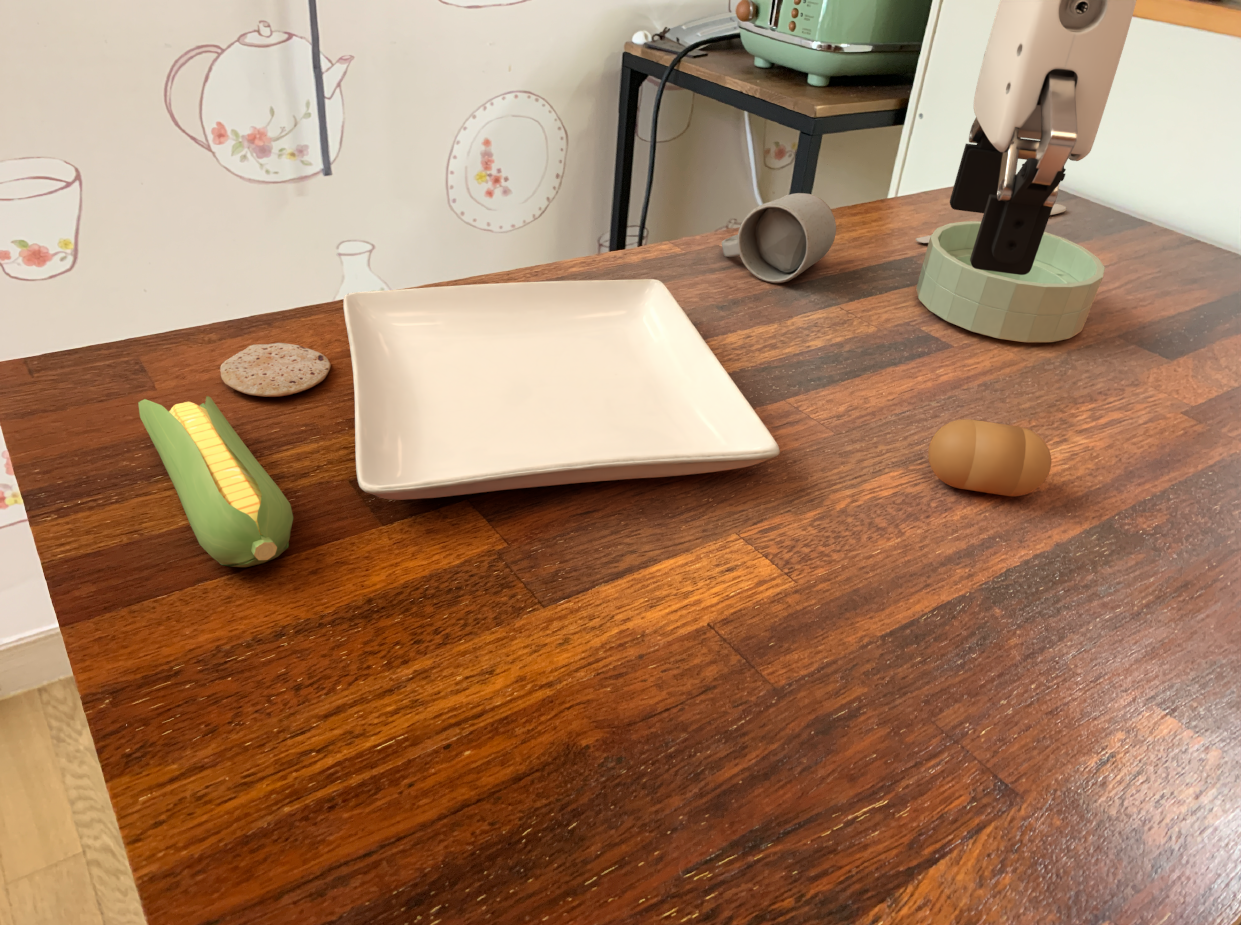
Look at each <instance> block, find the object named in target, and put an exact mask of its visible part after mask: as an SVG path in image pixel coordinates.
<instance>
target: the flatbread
mask: <svg viewBox="0 0 1241 925" xmlns="http://www.w3.org/2000/svg"><path fill="white" fill-rule="evenodd" d="M331 367H332V366H331V361H330V359H328V357H327V356H325V355H324V354H322V353H321V352H319V351H316V350H314V349H311V348H308V347H306V346H302V345H298V344H292V343H286V342H275V343H268V344H266V343H265V344H264V343H259V344H256V343H253V344H250V345H248V346H247V347H246V348H244V349H243V350H241V351H238V353H235V354H234V355H232V356H230V357H229V358H228V359H226V360H224V361H223V362H222V363H221V365H220V367H219V371H220V378H221V380H222V382H223V383H224V385H226V386H228V387H229V388H231V389H233V390H236V391H237V392H240V393H242V394H246V395H248V396H257V397H269V398H276V397H284V396H285V397H286V396H291V395H293V394H297V393H301V392H305V391H306V390H309V389H312V388H314V387H315V386H316V385H319V384H320V383H321V382H323V381H324V380H325V379H326V377H327V376H328V374H329V372H330V370H331Z"/></svg>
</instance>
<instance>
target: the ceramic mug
mask: <svg viewBox="0 0 1241 925" xmlns="http://www.w3.org/2000/svg"><path fill="white" fill-rule="evenodd" d="M737 232H738V233H737V234H735V235H732V236H730V237H727V238H725V239H724V240H722V241H721V248H722V252H723V255H724V257H726V258H733V257H740V260H741V261H742V263H743V265H744V266H745V268H746V269H747V270H748V271H749V273H751V274H752V275H753V276H754V277H756V278H757V279H760V280H761V281H763V282H767V283H772V284H782V283H786V282H789V281H791V280H793V279H795V278H796V277H798V276H799V275H800V274H802V273H803V272H805V271H806V270H808V269H809V268H810V267H811V266H813V265H814V264H816V263H817V262H819V261H820V260H822V259H823V258H824V257H825V256H826V255H827V254H828V253H829V251H830V249H831V248H832V246H833V244H834V242H835V239H836V234H837V223H836V218H835V216H834V213H833V210H832V209H831V207H830V206H829V205H828V204H827V202H826V201H824V200H823V199H822V198H821V197H818V196H816V195H814V194H810V193H804V192H797V193H791V194H787V195H784V196H782V197H780V198H777V199H774V200H771V201H769V202H765V203H762V204H760V205H759V206H756V207H755V208H753V209H752V210H751V211H749V212H748V213H747V214H746V216H745V217H744V219H743V220H742V222H741V223H740V225H739V228H738V231H737Z"/></svg>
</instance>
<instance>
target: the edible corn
mask: <svg viewBox="0 0 1241 925" xmlns="http://www.w3.org/2000/svg"><path fill="white" fill-rule="evenodd" d="M137 403H138V413H139V418H140V420H141V422H142V424H143V427H144V428H145V430H146V431H147V434H148V436H149V437H150V439H151V441H152V443H153V445H154V448H155V449H156V451H157V453H158V455H159V457H160V459H161V461H162V464H163V465H164V468H165V471H167V475H168V476H169V479H170V480H171V483H172V485H173V487H174V489H175V491H176V494H177V495H178V498H179V501H180V503H181V506H182V508H183V510H184V514H185V515H186V518H187V521H188V523H189V525H190V528H191V529H192V532H193V533H194V536H195V538H196V540H197V542H198V544H199V546H200V547H201V548H203V550H204V551H205V552H206V553H207V554H208V555H209V556H210V557H211V559H213V560H215V561H216V562H217V563H219V565H220V566H224V567H233V568H248V567H252V566H256V565H257V566H258V565H262V564H265V563H267V562H269V561H271V560H274V559H276V558H278V557H279V556H281V555H282V554H283V553H284V552H285V551H286V550H287V549H288V548H290V542H289V541H290V538H291V533H292V532H291V531H292V527H293V523H294V514H293V510H292V505H291V503H290V502H289V500H288V499H287V497H286V496H285V495H284V493H283V492H282V490H281V488H279V486H278V485H277V484H276V482H275V481H274V480H273V478H272V477H271V476H270V475H269V473H268V472H267V471H266V470H265V469H264V467H263V466H262V465H261V464H260V463H259V461H258V460H257V459H256V457H255V455H254V454H253V453H252V452H251V451H250V449H249V448H248V447H247V446H246V443H244V441H243V440H242V439H241V437H240V436H239V435H238V433H237V432H236V431H235V429H234V428H233V427H232V425H231V423H230V422H229V421H228V419H227V418H226V417H225V415H224V414H223V413H222V411H221V410H220V408H219V407H218V406H217V404H216V403H215V401H214V400H213V399H212V397H211V396H209V395H205V402H202V403H201V404H197V403H194V402H191V401H189V400H188V401H184V402H180V403H176V404H173V406H172V407H171V408H170V410H168V409H167V408H165V406H164V405H163V404H159V403H157V402H154V401H151V400H149V399H146V398H144V399H142V400H140V401H138V402H137Z"/></svg>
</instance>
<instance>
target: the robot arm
mask: <svg viewBox="0 0 1241 925" xmlns="http://www.w3.org/2000/svg"><path fill="white" fill-rule="evenodd" d="M1136 4H1137V0H999V3H998V6H997V10H996V13H995V16H994V20H993V23H992V26H991V29H990V34H989V37H988V40H987V44H986V47H985V51H984V54H983V58H982V62H981V66H980V70H979V75H978V77H977V82H976V87H975V92H974V97H973V112H974V115H975V118H974V119H973V122H972V124H971V127H970V129H969V130H970V131H969V133H968V134H969V135H968V143H965V145H964V149H963V153H962V156H961V160H960V163H959V167H958V169H957V174H956V177H955V181H954V184H953V187H952V191H951V195H950V198H949V205H950V207H951V209H952V210H954V211H961V212H962V211H963V212H971V213H977V214H983V215H982V218H981V220H980V221H981V225H980V228H979V231H978V234H977V238H976V241H975V244H974V248H973V251H972V254H971V257H970V262H971V265H972V267H973V268H975V269H980V270H988V271H995V272H1003V273H1010V274H1018V275H1025V274H1027V273H1029V272H1030V270H1031V268H1032V265H1033V263H1034V260H1035V257H1036V254H1037V251H1038V248H1039V245H1040V242H1041V239H1042V237H1043V234H1044V232H1046V231H1045V230H1046V228H1047V225H1048V222H1049V219H1050V216H1051V215H1050V214H1051V211H1052V208H1053V206H1054V204H1056V202H1057V199H1058V196H1059V189H1060V183H1061V182H1063V181H1064V180H1065V177H1066V173H1065V172H1066V170H1067V169H1066V168H1065V165H1066V163H1067V162H1068V160H1069V161H1073V162H1080V161H1081V160H1083V159H1084V158H1086V157H1087V156H1088V155H1089V154H1090V153H1091V151H1092V149H1093V147H1094V143H1095V140H1096V138H1097V134H1098V131H1099V129H1100V125H1101V122H1102V118H1103V115H1104V112H1105V110H1106V106H1107V103H1108V99H1109V97H1110V93H1111V91H1112V90H1111V89H1112V88H1113V83H1114V80H1115V77H1116V74H1117V70H1118V68H1119V64H1120V61H1121V57H1122V54H1123V50H1124V47H1125V44H1126V40H1127V37H1128V34H1129V30H1130V26H1131V23H1132V20H1133V15H1134V13H1135V12H1134V11H1135V9H1136V8H1135V7H1136ZM1019 160H1025V161H1024V163H1021V168H1020V169H1019V170H1018V161H1019ZM1017 170H1018V171H1017Z"/></svg>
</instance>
